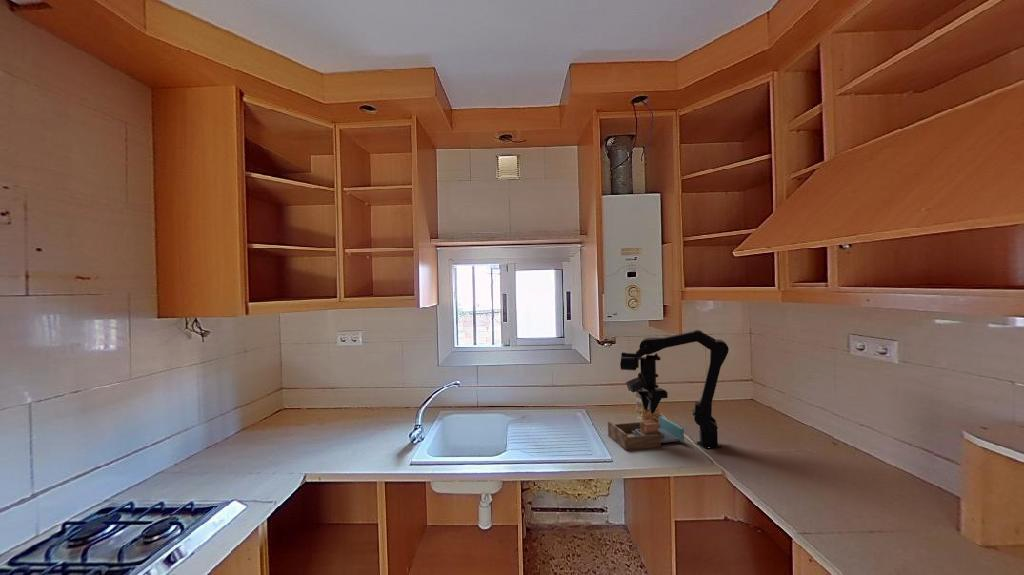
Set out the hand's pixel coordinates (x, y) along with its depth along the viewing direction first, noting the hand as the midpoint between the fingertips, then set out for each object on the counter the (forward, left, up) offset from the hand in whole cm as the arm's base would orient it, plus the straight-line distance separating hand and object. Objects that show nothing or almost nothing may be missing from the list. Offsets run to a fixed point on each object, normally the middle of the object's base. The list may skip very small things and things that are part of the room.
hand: (648, 411), depth 179 cm
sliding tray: (0, -3, -10) cm, 10 cm away
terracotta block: (0, 0, -9) cm, 9 cm away
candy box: (+15, -7, -11) cm, 20 cm away
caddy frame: (0, +6, -11) cm, 13 cm away
